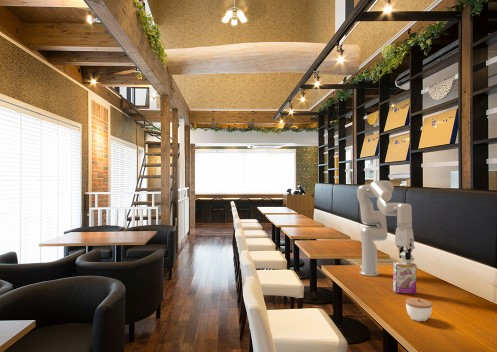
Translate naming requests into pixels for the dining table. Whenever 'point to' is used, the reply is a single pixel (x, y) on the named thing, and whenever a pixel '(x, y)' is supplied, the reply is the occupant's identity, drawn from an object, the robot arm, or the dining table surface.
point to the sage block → (404, 257)
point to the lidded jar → (418, 308)
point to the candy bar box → (404, 278)
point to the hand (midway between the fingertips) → (405, 258)
